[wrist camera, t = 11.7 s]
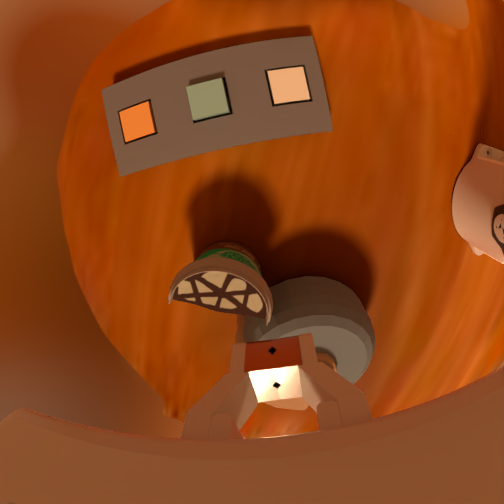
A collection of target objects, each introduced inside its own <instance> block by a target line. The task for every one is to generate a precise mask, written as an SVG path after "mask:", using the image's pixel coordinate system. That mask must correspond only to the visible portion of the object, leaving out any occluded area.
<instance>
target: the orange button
mask: <svg viewBox="0 0 504 504" xmlns="http://www.w3.org/2000/svg"><path fill="white" fill-rule="evenodd" d="M119 113H120V118H121V123H122V128H123V133H124V137H125V142H131V141H134V140H137V139H140V138H143V137H146V136H149V135H152V134H155V133H158V132H157V127H156V123H155V118H154V113H153V108H152V104H151V102H149V101H147V102H145V103H142V104H139V105H136V106H134V107H131V108H129V109H126V110H124V111H121V112H119Z"/></svg>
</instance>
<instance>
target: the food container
mask: <svg viewBox="0 0 504 504" xmlns="http://www.w3.org/2000/svg"><path fill="white" fill-rule="evenodd" d="M173 299H174V300H177V301H183V302H188V303H192V304H196V305H199V306H202V307H205V308H208V309H211V310H215V311H218V312H224V313H233V314H241V315H246V316H251V317H256V318H261V319H265V320H266V325H267V324H268V322H270V319H271V315H272V311H273V299H272V294H271V292H270V289H269V287H268V285H267V283H266V282H265V280H264V279H263V278H262V273H261V269H260V264H259V262H258V260H257V258H256V256H255V254H254V253H253V252H252V251H251V250H250V249H249V248H248V247H246V246H244V245H243V244H241V243H238V242H235V241H229V240H228V241H218V242H215V243H212V244H210V245H209V246H207V247H206V248H205V249H204V250H203V251H202V252H201V253H200V254H199V255H198V257H197V258H196V259H195V261H194V262H192V263H190V264H188V265H187V266H185V267H184V268H183V269H181V271H180V272H179V273H178V274H177V275H176V276H175V278H174V280H173V282H172V284H171V287H170V292H169V298H168V300H169V304H170V303H171V301H172V300H173Z"/></svg>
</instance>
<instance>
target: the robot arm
mask: <svg viewBox="0 0 504 504" xmlns="http://www.w3.org/2000/svg"><path fill="white" fill-rule="evenodd" d="M452 215H453V221H454V224H455V227H456V229H457V231H458V233H459V234H460V236H461V237H462V238H463V239H465V240H466V241H467V242H468V243H469V244H470V246H471V249H472V251H473V253H474V254H476V255H482V254H483V253H485V254H487V255H488V256H490V257H492V258H493V259H495V260H497V261H498V262H500V263H502V264H504V151H502V150H499V149H496V148H494V147H491V146H488V145H485V144H482V143H479V144H478V145H477V147H476V149H475V152H474V154H473V157H472V159H471V160H470V162H469V163H468V164H467V165H466V166H465V167H464V168H463V170H462V171H461V173H460V175H459V177H458V179H457V182H456V185H455V188H454V192H453V199H452ZM297 397H302V398H303V399H304V400H305V401H306V402H307V403H308V404H309V405H310V406H311V407H312V408H313V409H314V410H315V411H316V413H317V423H318V431H314V432H308V433H301V434H294V435H286V436H276V437H265V438H251V439H243V437H242V435H241V433H240V429H241V428H242V426H243V425H244V424H245V422H246V421H247V419H248V418H249V416H250V415H251V413H252V412H253V410H254V409H255V407H256V406H257V405H258V402H265V401H272V400H279V399H289V398H297ZM0 504H504V366H503V367H501V368H500V369H498V370H496V371H494V372H492V373H490V374H488V375H487V376H485V377H483V378H481V379H479V380H477V381H475V382H473V383H470V384H468V385H466V386H464V387H462V388H460V389H457V390H455V391H453V392H451V393H448V394H446V395H443V396H441V397H438V398H436V399H433V400H431V401H428V402H425V403H423V404H420V405H417V406H414V407H411V408H408V409H405V410H402V411H399V412H396V413H393V414H389V415H386V416H382V417H379V418H375V419H372V416H371V412H370V409H369V406H368V402H367V399H366V396H365V393H364V392H363V391H361V390H360V389H359V388H357V387H356V386H354V385H353V384H352V383H350V382H349V381H347V380H346V379H345V378H343V377H342V376H341V375H339V374H338V373H336V372H335V371H334V370H332V369H331V368H330V367H328V366H327V365H326V364H324V363H323V362H318V360H317V355H316V350H315V346H314V341H313V336H312V334H311V333H307V334H301V335H297V336H291V337H285V338H279V339H272V340H263V341H254V342H247V343H236V344H234V345H233V346H232V354H231V362H230V370H229V374H225V375H224V376H223V377H222V378H221V379H220V380H219V381H218V382H217V383H216V384H215V385H214V386H213V387H212V388H211V389H210V390H209V391H208V392H207V393H206V394H205V395H204V396H203V397H202V398H201V399H200V400H199V401H198V402H197V403H196V404H195V405H194V406H193V407H192V408H191V409H190V410H189V411H188V412H187V414H186V419H185V423H184V427H183V432H182V436H181V439H178V438H165V437H154V436H144V435H136V434H129V433H122V432H116V431H109V430H105V429H99V428H94V427H90V426H85V425H81V424H77V423H73V422H69V421H65V420H61V419H58V418H54V417H51V416H48V415H44V414H41V413H38V412H35V411H32V410H29V409H25V408H21V409H18V410H16V411H15V412H13V413H12V414H10V415H9V416H7V417H6V418H5V419H4V420H2V421H1V422H0Z"/></svg>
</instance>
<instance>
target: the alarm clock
mask: <svg viewBox="0 0 504 504" xmlns="http://www.w3.org/2000/svg"><path fill="white" fill-rule="evenodd" d="M269 289H270V292H271V294H272V299H273V311H272V315H271V319H270V322H268V324H267V325H266V320H265V319H261V318H256V317H251V316H246V315H241V314H239V316H238V324H237V333H236V341H235V344H236V343H247V342H254V341H263V340H272V339H279V338H285V337H291V336H297V335H301V334H307V333H311V334H312V336H313V341H314V346H315V350H316V355H317V360H318V362H323V363H324V364H326V365H327V366H328V367H330V368H331V369H332V370H334V371H335V372H336V373H338V374H339V375H341V376H342V377H343V378H345V379H346V380H347V381H349V382H350V383H352V384H354V383H355V382H356V381H357V380H358V379H359V378H360V377H361V376H362V375H363V373H364V372H365V371H366V370H367V368H368V366H369V363H370V361H371V359H372V356H373V353H374V348H375V335H374V330H373V327H372V324H371V321H370V318H369V316H368V314H367V312H366V310H365V308H364V306H363V304H362V302H361V300H360V299H359V298H358V297H357V295H356V294H355V293H354V292H353V290H352V289H350V288H349V287H347V286H346V285H344V284H342V283H341V282H339V281H336V280H332V279H329V278H326V277H314V276H304V277H299V278H294V279H288V280H286V281H283V282H281V283H279V284H276V285H274V286H272V287H270V288H269ZM264 403H266V404H269V405H272V406H274V407H277V408H286V409H295V410H305V409H306V408H307V407H308V406H309V404H308V403H307V402H306V401H305V400H304V399H303V398H302V397H297V398H289V399H279V400H272V401H265V402H264Z"/></svg>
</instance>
